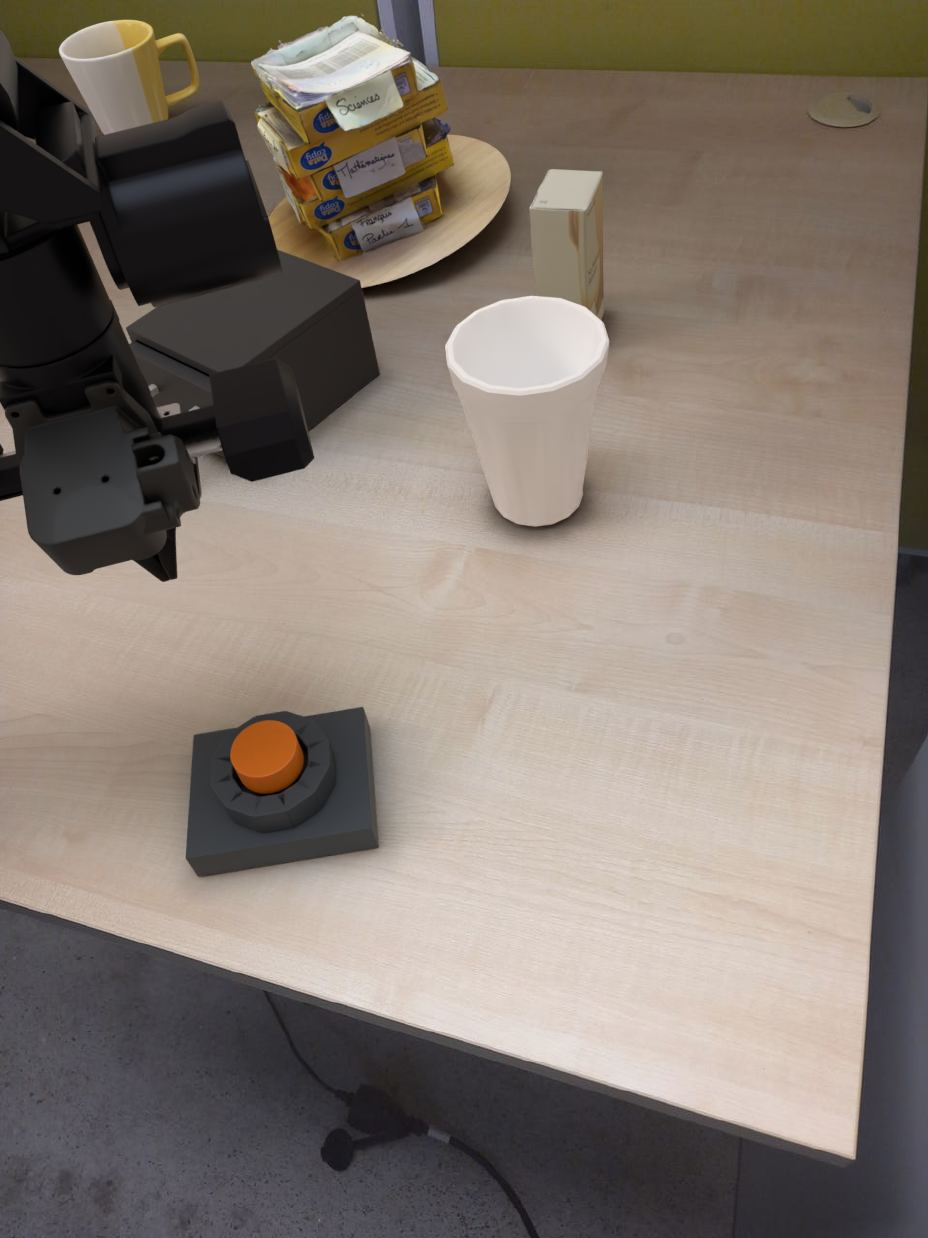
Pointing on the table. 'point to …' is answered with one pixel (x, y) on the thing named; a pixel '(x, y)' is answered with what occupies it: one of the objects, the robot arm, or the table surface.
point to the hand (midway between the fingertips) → (170, 574)
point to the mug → (124, 73)
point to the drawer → (173, 380)
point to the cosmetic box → (569, 238)
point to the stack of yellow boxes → (370, 156)
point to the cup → (530, 400)
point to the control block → (284, 798)
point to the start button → (267, 756)
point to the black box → (275, 332)
